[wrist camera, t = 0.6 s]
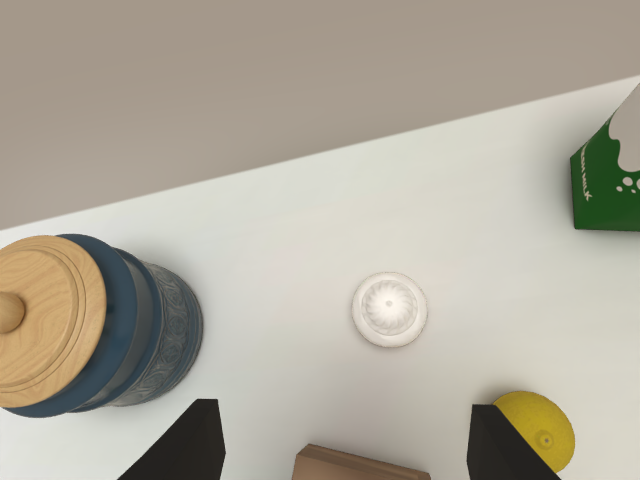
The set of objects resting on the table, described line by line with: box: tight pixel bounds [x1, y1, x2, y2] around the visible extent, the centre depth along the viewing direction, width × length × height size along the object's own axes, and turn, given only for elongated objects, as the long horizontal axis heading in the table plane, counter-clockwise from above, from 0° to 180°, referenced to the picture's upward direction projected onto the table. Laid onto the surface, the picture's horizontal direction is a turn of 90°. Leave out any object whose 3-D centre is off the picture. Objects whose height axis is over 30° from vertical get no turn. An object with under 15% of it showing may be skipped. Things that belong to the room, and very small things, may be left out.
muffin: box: [352, 272, 428, 347], centre depth 36 cm, size 6×6×7 cm
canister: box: [0, 234, 202, 418], centre depth 34 cm, size 13×13×18 cm
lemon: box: [493, 391, 575, 473], centre depth 31 cm, size 6×6×8 cm
